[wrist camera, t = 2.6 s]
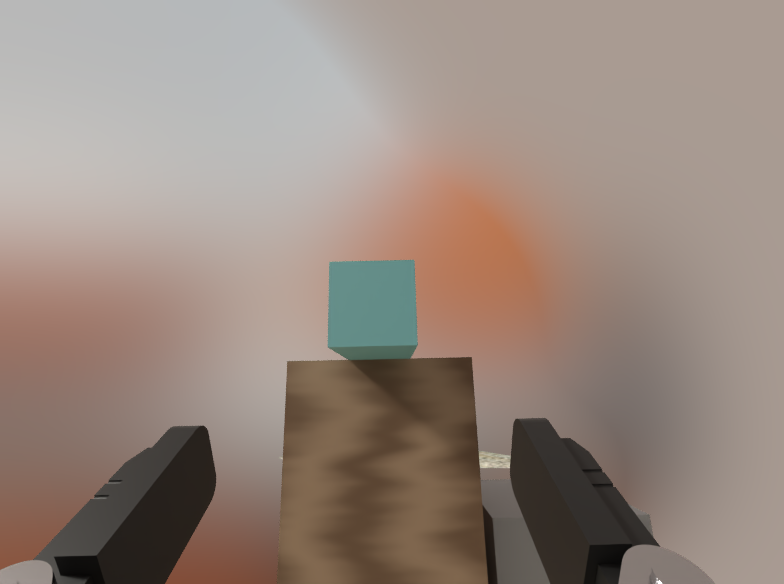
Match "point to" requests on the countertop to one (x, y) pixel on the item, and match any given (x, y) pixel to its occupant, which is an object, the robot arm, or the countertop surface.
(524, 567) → the grey block
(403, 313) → the teal bar
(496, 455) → the countertop surface
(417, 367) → the walnut stand
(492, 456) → the countertop surface
